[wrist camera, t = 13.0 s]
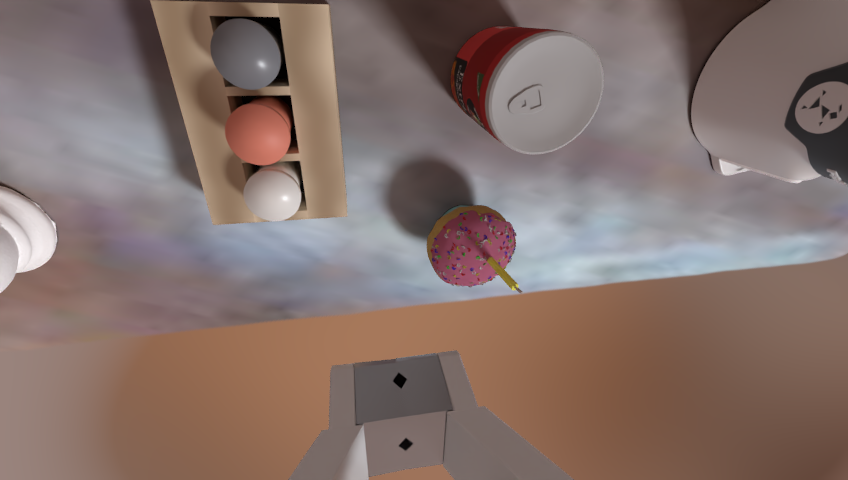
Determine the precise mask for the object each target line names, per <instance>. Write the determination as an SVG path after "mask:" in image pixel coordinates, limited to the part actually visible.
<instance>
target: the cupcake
mask: <svg viewBox="0 0 848 480" xmlns="http://www.w3.org/2000/svg"><path fill="white" fill-rule="evenodd" d="M515 234H516V233H515V232H514V229H513V227H512V225H511V223H510V222H506V220H505V219H504V218H503V217H502V215H501V214H500V213H498V212H497V211H495V210H493V209H491V208H489V207H487V206H482V205H477V206H466V205H461V206H456V207H453V208H451V209H450V210H448V211H447V212H446V213H445V214H444V215H443V216H442V217H441V218H440V219H439V220H438V221H437V222H436V223H435V225H434V227H433V229H432V231H431V232H430V234H429V236H428V239H427V253H428V257H429V260H430V262H431V264H432V266H433V268H434V270H435V272H436V273H437V275H438V276H439V277H440V278H441V279H442V280H443V281H445V282H447V283H449V284H452V285H453V286H454V285H456V286H457V285H458V286H462V287H463V286H469V287H470V286H471V287H472V286H475V285H483V283H486V282H487V281H491V280H492V279H493V278H495V276H496V275H499V276H500V277H501V278H502V279H503V280H504V281H505V282H506V284H507V285H508V286H509V287H510V288H511V289H512V290H517V291H518V292H519V293H523V292H522V291H521V290H520V289H519V288H518V284H517V283H516V282H515V281H514V280H513V279H512V278H511V277H510V276H509V274H508V273H507V272H506V271H505V270H504V269H505V268H506V266H507V264H508V263H509V262H510V261H511V259H512V258H511V257H512V254H514V250H515V249H514V248H515V247H516V245H515V244H516V242H515V241H516V240H515V236H516V235H515ZM509 260H510V261H509Z"/></svg>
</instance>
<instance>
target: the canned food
mask: <svg viewBox="0 0 848 480" xmlns="http://www.w3.org/2000/svg"><path fill="white" fill-rule="evenodd" d="M603 85H604V75H603V68H602V64H601V61H600V59H599V56H598V54H597V53H596V52H595V50H594V49H593V47H592V46H591V45H590V44H589V43H588V42H586V41H585V40H584V39H582V38H580V37H578V36H576V35H574V34H571V33H567V32H563V31H557V30H550V29H536V28H522V27H509V26H495V27H491V28H487V29H485V30H482V31H480V32H478V33H477V34H475V35H474V36H473V37H471V38H470V39H469V40H468V41H467V42H466V43H465V44H464V45H463V46H462V48H461V49H460V51H459V53H458V54H457V56H456V59H455V61H454V63H453V67H452V72H451V88H452V93H453V96H454V99H455V101H456V102H457V104H458V106H459V107H460V108H461V109H462V110H463V111H464V112H465V113H466V114H467V115H468V116H469V117H471V118H472V119H473V120H474V121H475V122H477V123H478V124H479V125H480V126H481V127H482V128H484V129H485V130H486V131H487V132H488V133H490V134H491V135H492V136H493V137H494V138H496V139H497V140H499V141H500V142H501V143H502V144H504V145H505V146H507V147H509V148H510V149H513V150H515V151H518V152H520V153H525V154H532V155H533V154H544V153H548V152H552V151H554V150H557V149H559V148H561V147H563V146H565V145H566V144H568V143H569V142H571V141H572V140H574V139H575V138H576V137H577V136H578V135H579V134H580V133H582V131H583V130H584V129H585V128H586V127H587V125H588V124H589V123H590V121H591V120H592V118H593V116H594V115H595V113H596V111H597V109H598V106H599V104H600V101H601V97H602V93H603Z"/></svg>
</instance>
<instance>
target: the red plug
mask: <svg viewBox="0 0 848 480" xmlns="http://www.w3.org/2000/svg"><path fill="white" fill-rule="evenodd" d="M293 121H294V119H293V114H292V111H291V109H290V107H289V106H288V105H287V103H286V102H284V101H283V100H282V99H280V98H279V97H276V96H273V95H261V96H258V97H256V98H254V99H253V100H252V101H251V102H250V103H249V104H245V105H242V106H240V107H238V108H237V109H236V110H235V111H233V112H232V114H231V115H230V116H229V117H228V119H227V122H226V125H225V136H226V140H227V142H228V145H229V146H230V148H231V149H232V151H233V152H234V153H235V154H236V155H237V156H238V157H239V158H241V159H242V160H244V161H246V162H248V163H251V164H255V165H270V164H273V163H275V162H277V161H279V160H280V159H281V158H282V157H283V156H284V155H285V154H286V152H287V150H288V148H289V145H290V141H291V134H290V132H291V129H292V127H293Z"/></svg>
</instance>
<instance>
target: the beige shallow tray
mask: <svg viewBox="0 0 848 480" xmlns="http://www.w3.org/2000/svg"><path fill="white" fill-rule="evenodd" d="M150 2H151V5H152V9H153V13H154V16H155V20H156V23H157V27H158V30H159V34H160V37H161V41H162V45H163V48H164V52H165V55H166V59H167V62H168V66H169V69H170V73H171V77H172V80H173V84H174V87H175V91H176V94H177V98H178V102H179V105H180V109H181V112H182V116H183V119H184V123H185V126H186V130H187V134H188V137H189V141H190V144H191V148H192V151H193V155H194V158H195V162H196V166H197V169H198V173H199V176H200V180H201V183H202V187H203V190H204V194H205V198H206V201H207V205H208V208H209V212H210V215H211V219H212V223H213V225H219V224H235V223H251V222H267V221H268V220H265V219H262V218H260V217H258V216H256V215H255V214H254V213H252V212H251V211H250V209H249V208H248V207H247V205H246V203H245V200H244V195H243V192H244V187H245V185H246V183H247V181H248V179H249V178H250V177H251V176H252V175H253V174H254V173H256V172H257V171H256V166H255V164H251V163H248V162H246V161H244V160H242V159H241V158H239V157H238V156H237V155H236V154H235V153H234V152H233V151H232V149H231V148H230V146H229V145H228V142H227V140H226V136H225V125H226V122H227V119H228V117H229V116H230V115H231V114H232V112H233V111H235V110H236V109H237V108H238V107H240V106H242V105H243V102H242V98H241V96H261V95H291V101H292V108H293V115H294V122H295V129H296V136H297V140H291V141H290V145H289V148H288V150H287V152H286V154H285V155H284V156H283V157H282V158H281V159H280V160H279V161H277V162H282V161H300V163H301V170H302V177H303V184H304V191H305V193H301V202H300V206H299V208H298V210H297V211H296V213H295V214H294V215H293V216H291V217H290V218H288V219H285V220H299V219H314V218H330V217H346V216H347V196H346V185H345V173H344V162H343V150H342V139H341V127H340V116H339V104H338V93H337V81H336V70H335V58H334V47H333V35H332V24H331V12H330V5H328V4H288V3H245V2H202V1H159V0H150ZM225 16H245V17H280V24H281V31H282V38H283V45H284V52H285V59H286V66H287V73H288V79H274V80H273V81H272V82H271V83H270V84H269V85H267V86H265V87H263V88H261V89H255V90H248V89H243V88H240V87H237V86H235V85H233V84H232V83H230V82H229V81H227V80H226V79H225V78H224V77H223V76H222V75H221V74H220V73H219V71H218V70H217V68H216V66H215V65H214V62H213V60H212V56H211V50H210V45H211V39H212V36H213V33H214V32H215V30H216V29H217V28H218V26H220V25H221V24H222V23H224V22H225V21H226V19H225ZM282 221H283V220H282Z"/></svg>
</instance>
